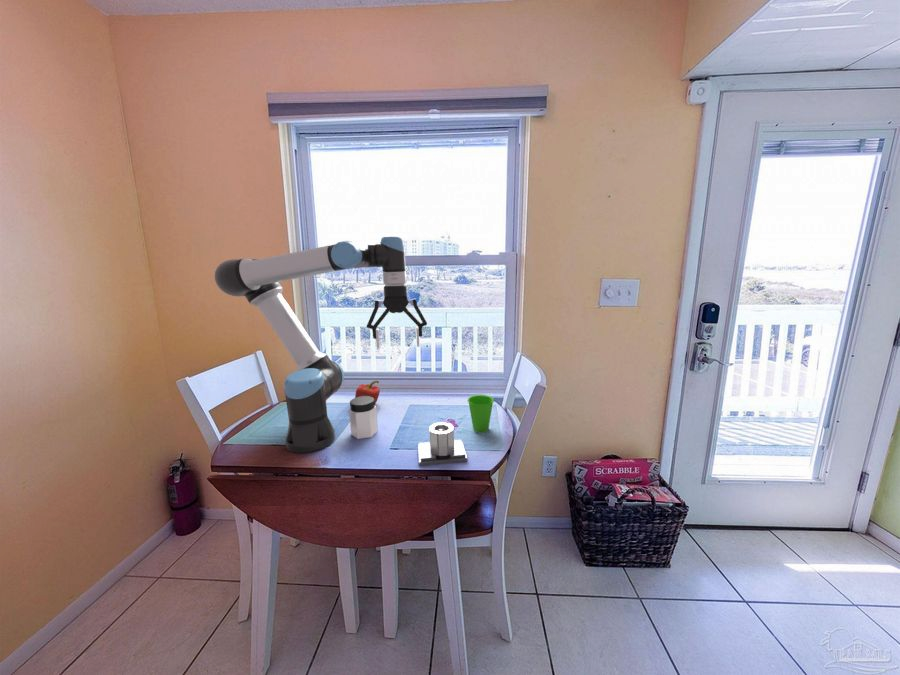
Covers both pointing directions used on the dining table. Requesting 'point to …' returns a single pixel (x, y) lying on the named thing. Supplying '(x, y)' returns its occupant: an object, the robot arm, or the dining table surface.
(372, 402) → the jar
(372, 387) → the vegetable
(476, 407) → the cup
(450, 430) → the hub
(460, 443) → the shaft block
